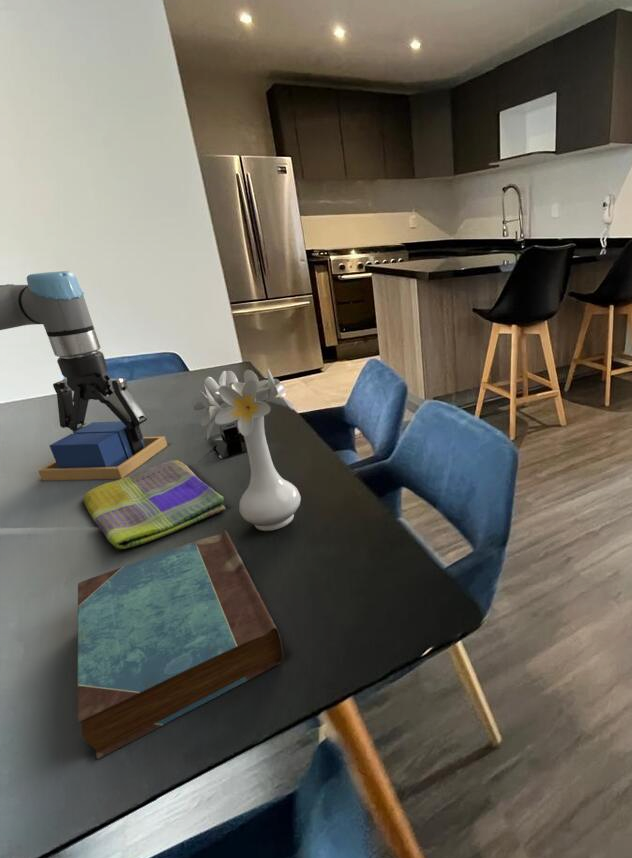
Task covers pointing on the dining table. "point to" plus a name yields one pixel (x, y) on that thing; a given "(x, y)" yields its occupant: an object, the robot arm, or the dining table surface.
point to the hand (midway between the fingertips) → (115, 455)
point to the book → (167, 639)
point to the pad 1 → (88, 450)
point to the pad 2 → (110, 428)
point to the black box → (230, 441)
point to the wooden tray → (119, 472)
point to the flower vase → (252, 443)
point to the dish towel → (151, 504)
